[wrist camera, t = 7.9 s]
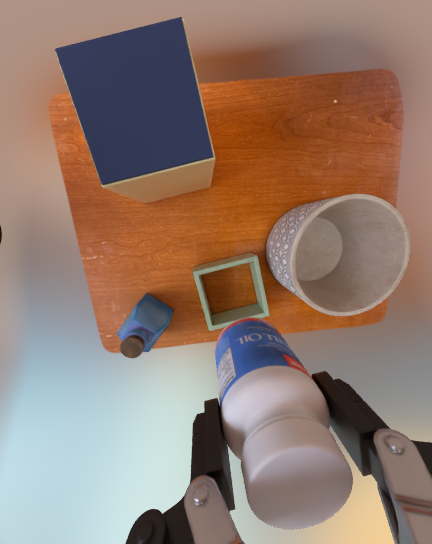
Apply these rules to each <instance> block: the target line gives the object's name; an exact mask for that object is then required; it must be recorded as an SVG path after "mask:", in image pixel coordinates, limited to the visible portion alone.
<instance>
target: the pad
mask: <svg viewBox="0 0 432 544" xmlns="http://www.w3.org/2000/svg"><path fill="white" fill-rule="evenodd" d="M55 51H56V54H57V57H58V60H59V63H60V66H61V69H62V72H63V75H64V77H65V80H66V83H67V86H68V89H69V92H70V95H71V98H72V101H73V104H74V106H75V109H76V112H77V115H78V118H79V121H80V124H81V127H82V130H83V132H84V135H85V138H86V141H87V144H88V147H89V150H90V153H91V156H92V159H93V161H94V164H95V167H96V170H97V173H98V176H99V179H100V182H101V184H102V185H106V184H110V183H114V182H118V181H122V180H126V179H130V178H134V177H137V176H141V175H145V174H149V173H153V172H157V171H161V170H165V169H169V168H173V167H177V166H181V165H185V164H189V163H193V162H197V161H201V160H205V159H208V158H212V157H213V152H212V147H211V143H210V139H209V134H208V130H207V126H206V121H205V117H204V112H203V108H202V104H201V99H200V95H199V91H198V86H197V82H196V77H195V73H194V69H193V64H192V60H191V56H190V51H189V47H188V42H187V38H186V34H185V29H184V25H183V20H182V17H180V18H175V19H172V20H167V21H164V22H159V23H156V24H152V25H148V26H144V27H140V28H136V29H132V30H128V31H124V32H120V33H116V34H112V35H108V36H104V37H100V38H96V39H92V40H88V41H85V42H80V43H76V44H72V45H69V46H65V47H60V48H56V49H55Z"/></svg>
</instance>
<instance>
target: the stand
mask: <svg viewBox="0 0 432 544" xmlns="http://www.w3.org/2000/svg"><path fill="white" fill-rule="evenodd" d="M182 20H183V25H184V29H185V34H186V38H187V42H188V47H189V51H190V56H191V60H192V64H193V69H194V73H195V77H196V82H197V86H198V91H199V95H200V99H201V104H202V108H203V112H204V117H205V121H206V126H207V130H208V134H209V139H210V143H211V147H212V152H213V157H212V158H208V159H205V160H201V161H197V162H193V163H189V164H185V165H181V166H177V167H173V168H169V169H165V170H161V171H157V172H153V173H149V174H145V175H141V176H137V177H134V178H130V179H126V180H122V181H118V182H114V183H110V184H106V185H102V184H101V186H102V188H104V189H107V190H110V191H112V192H115V193H118V194H120V195H123V196H125V197H128V198H131V199H133V200H136V201H139V202H141V203H144V204H146V203H150V202H154V201H158V200H162V199H166V198H170V197H174V196H178V195H182V194H185V193H189V192H193V191H197V190H201V189H205V188H209V187H211V182H212V176H213V171H214V165H215V159H216V158H215V154H214V150H213V145H212V141H211V136H210V132H209V127H208V123H207V119H206V114H205V110H204V105H203V101H202V97H201V92H200V88H199V83H198V79H197V75H196V70H195V66H194V61H193V57H192V53H191V48H190V44H189V39H188V35H187V31H186V26H185V22H184V19H183V18H182ZM55 53H56V51H55ZM56 55H57V54H56ZM57 58H58V57H57ZM58 61H59V60H58ZM59 64H60V63H59ZM60 67H61V66H60ZM61 70H62V69H61ZM62 73H63V72H62ZM64 78H65V77H64ZM65 81H66V80H65ZM66 84H67V83H66ZM67 87H68V86H67ZM68 90H69V89H68ZM69 93H70V92H69ZM70 96H71V95H70ZM71 99H72V98H71ZM72 102H73V101H72ZM73 105H74V104H73ZM74 108H75V106H74ZM75 111H76V109H75ZM76 113H77V112H76ZM77 116H78V115H77ZM78 119H79V118H78ZM79 122H80V121H79ZM80 125H81V124H80ZM81 128H82V127H81ZM82 131H83V130H82ZM83 134H84V132H83ZM84 137H85V135H84ZM85 139H86V138H85ZM86 142H87V141H86ZM87 145H88V144H87ZM88 148H89V147H88ZM89 151H90V150H89ZM90 154H91V153H90ZM91 157H92V156H91ZM92 160H93V159H92ZM93 163H94V161H93ZM94 166H95V164H94ZM95 168H96V167H95ZM96 171H97V170H96ZM97 174H98V173H97ZM98 177H99V176H98ZM99 180H100V179H99ZM100 183H101V182H100Z"/></svg>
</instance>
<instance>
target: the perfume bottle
mask: <svg viewBox="0 0 432 544" xmlns="http://www.w3.org/2000/svg"><path fill="white" fill-rule="evenodd" d="M173 312H174V310H173V309H171V308H170V307H168V306H167V305H165V304H164V303H162V302H160V301H159V300H157V299H156V298H154V297H153V296H151V295H149V294H148V293H146V294H145V296H144V297H143V298H142V299H141V300H140V301H139V303H138V304H137V305H136V306H135V308H134V309H133V311H132V312H131V314H130V315H129V316H128V318H127V319H126V321H125V322H124V324H123V325H122V327H121V328H120V329H119V331H118V332H117V334H118V336H119V338H120V339H121V340H122V342H121V345H120V351H121V353H122V354H123V355H124V356H126V357H128V358H136V357H138V356H139V355H140V354H141V353H142V352H149V351H150V350H151V348H152V347H153V345H154V344H155V343H156V341H157V340H158V339H159V337H160V336H161V335H162V333H163V332H164V330H165V329H166V328H167V326H168V325H169V323H170V320H171V317H172V314H173Z"/></svg>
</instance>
